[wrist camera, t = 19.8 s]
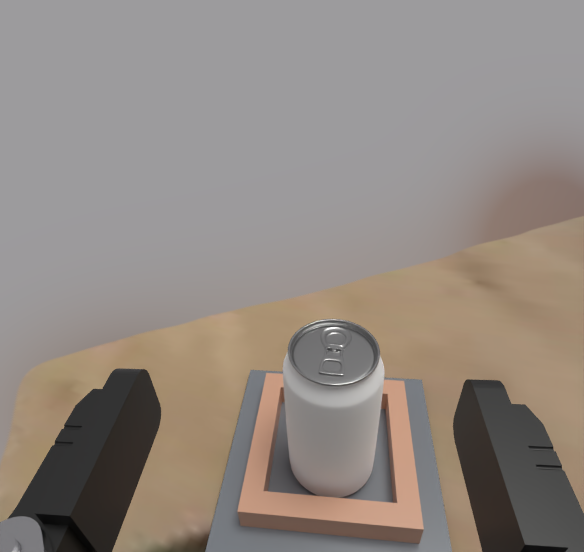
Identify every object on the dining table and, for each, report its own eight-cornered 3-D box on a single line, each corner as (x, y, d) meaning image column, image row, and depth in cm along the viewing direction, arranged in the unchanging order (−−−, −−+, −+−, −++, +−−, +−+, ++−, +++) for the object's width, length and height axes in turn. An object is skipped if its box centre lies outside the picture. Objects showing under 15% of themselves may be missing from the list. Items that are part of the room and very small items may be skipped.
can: (373, 428, 35) (386, 318, 28) (372, 507, 30) (387, 397, 23) (296, 418, 36) (290, 310, 29) (282, 494, 31) (270, 384, 24)
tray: (455, 586, 26) (463, 569, 25) (205, 558, 28) (199, 541, 27) (420, 384, 39) (424, 364, 38) (251, 374, 41) (248, 355, 40)
